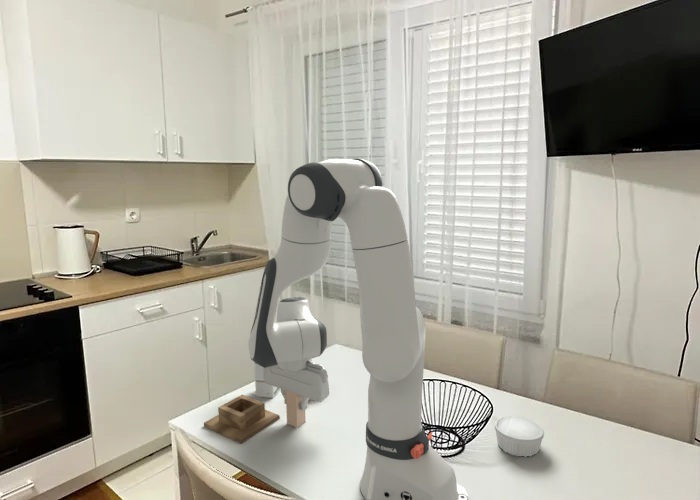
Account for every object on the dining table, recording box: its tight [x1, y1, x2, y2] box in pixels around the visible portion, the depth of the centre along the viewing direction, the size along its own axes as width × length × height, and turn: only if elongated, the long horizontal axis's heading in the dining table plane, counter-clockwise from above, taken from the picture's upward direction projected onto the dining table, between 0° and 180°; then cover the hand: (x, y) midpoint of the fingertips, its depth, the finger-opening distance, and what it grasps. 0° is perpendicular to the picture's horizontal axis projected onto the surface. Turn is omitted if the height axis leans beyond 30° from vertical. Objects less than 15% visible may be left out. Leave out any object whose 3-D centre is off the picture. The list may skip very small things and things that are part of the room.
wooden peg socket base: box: [203, 394, 281, 444], centre depth 126 cm, size 14×14×5 cm
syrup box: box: [253, 361, 281, 399], centre depth 141 cm, size 6×6×14 cm
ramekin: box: [494, 415, 545, 458], centre depth 115 cm, size 11×11×5 cm
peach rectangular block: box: [285, 390, 306, 428], centre depth 125 cm, size 4×4×12 cm
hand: (295, 406), depth 125 cm, fingers closed on peach rectangular block, 3 cm apart
